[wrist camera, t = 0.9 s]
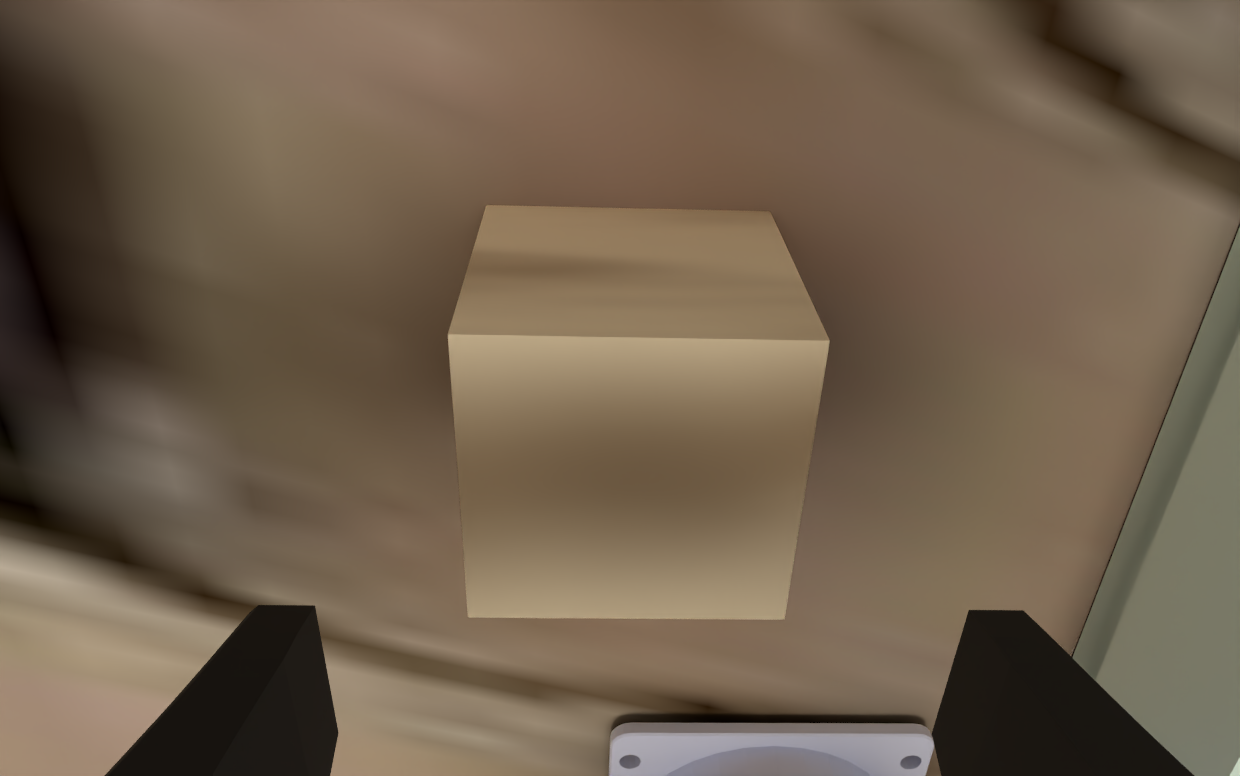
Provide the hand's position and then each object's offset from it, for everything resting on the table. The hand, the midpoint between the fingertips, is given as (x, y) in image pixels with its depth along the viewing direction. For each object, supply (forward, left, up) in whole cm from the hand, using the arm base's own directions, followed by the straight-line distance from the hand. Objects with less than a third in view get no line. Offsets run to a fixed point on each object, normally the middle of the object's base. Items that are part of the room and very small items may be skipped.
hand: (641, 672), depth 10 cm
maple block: (0, 0, -8) cm, 8 cm away
